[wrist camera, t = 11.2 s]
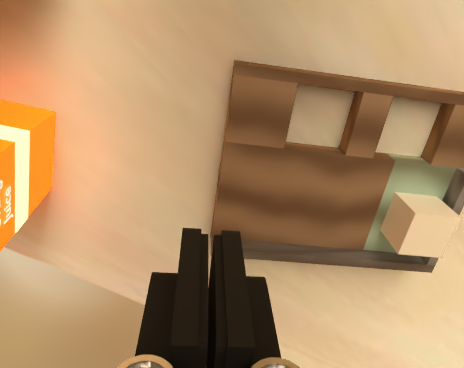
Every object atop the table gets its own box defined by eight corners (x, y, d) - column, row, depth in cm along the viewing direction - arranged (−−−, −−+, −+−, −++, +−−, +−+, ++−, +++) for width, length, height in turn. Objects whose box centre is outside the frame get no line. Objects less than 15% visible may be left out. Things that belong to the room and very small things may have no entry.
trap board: (234, 60, 35) (237, 67, 31) (483, 94, 38) (511, 104, 34) (210, 234, 44) (210, 255, 40) (414, 251, 47) (431, 272, 43)
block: (394, 191, 40) (415, 213, 36) (436, 196, 41) (461, 217, 37) (380, 230, 42) (398, 254, 38) (420, 233, 43) (442, 258, 39)
